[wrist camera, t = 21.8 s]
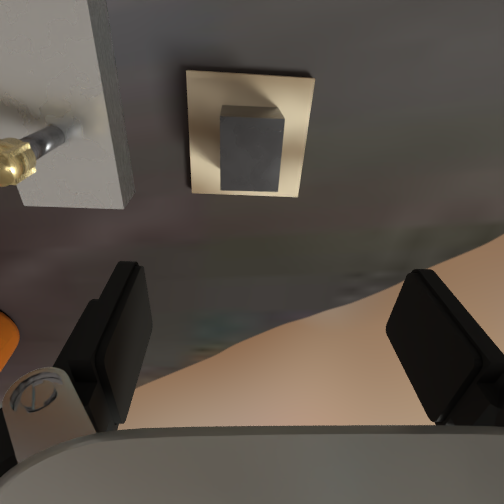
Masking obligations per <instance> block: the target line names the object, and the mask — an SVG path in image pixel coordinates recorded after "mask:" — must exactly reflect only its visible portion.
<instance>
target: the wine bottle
mask: <svg viewBox="0 0 504 504" xmlns="http://www.w3.org/2000/svg"><path fill="white" fill-rule="evenodd" d="M19 338H20V336H19V330H18V328H17V326H16V325H15V323H14V322H13V321H12V320H11V319H10V318H9V317H8V316H6V315H5V314H3V313H2V312H0V372H1V370H2V369H3V367H4V366H5V364H6V363H7V361H8V360H9V358H10V356H11V355H12V353H13V352H14V350H15V349H16V347H17V345H18V342H19Z"/></svg>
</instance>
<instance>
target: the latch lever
mask: <svg viewBox="0 0 504 504" xmlns="http://www.w3.org/2000/svg"><path fill="white" fill-rule="evenodd" d="M35 166H36V157H35V154H34V152H33V150H32V149H31V148H30V144H29V143H28V142H23V141H21V140H19V139H16V138H4V139H0V186H8V185H17V184H18V183H20V182H21V181H23V180H24V179H26V178H27V177H29V176H30V175H32V174H33V173H35V172H36V169H35Z"/></svg>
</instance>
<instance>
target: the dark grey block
mask: <svg viewBox="0 0 504 504" xmlns="http://www.w3.org/2000/svg"><path fill="white" fill-rule="evenodd" d="M284 125H285V118H284V116H283V115H282V113H281V111H280V110H279V108H278V107H256V106H232V105H222V108H221V113H220V190H221V191H258V192H278V187H279V177H280V166H281V156H282V146H283V135H284Z"/></svg>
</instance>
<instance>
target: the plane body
mask: <svg viewBox="0 0 504 504" xmlns="http://www.w3.org/2000/svg"><path fill="white" fill-rule="evenodd" d="M4 138H16V139H19V140H21V141H23V142H28V143H29V144H30V148H31V149H32V150H33V152H34V154H35V157H36V166H35V169H36V172H35V173H33V174H32V175H30V176H29V177H27V178H26V179H24V180H23V181H21V182H20V183H18V184H17V187H18V190H19V193H20V196H21V198H22V201H23V204H24V206H46V207H76V208H105V209H124V208H125V207H126V205H127V204H128V202H129V201H130V199H131V198H132V196H133V195H134V193H135V188H134V182H133V175H132V168H131V162H130V155H129V149H128V142H127V135H126V129H125V122H124V116H123V109H122V102H121V96H120V89H119V83H118V76H117V69H116V63H115V56H114V50H113V43H112V36H111V30H110V23H109V17H108V10H107V3H106V0H0V139H4Z"/></svg>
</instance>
